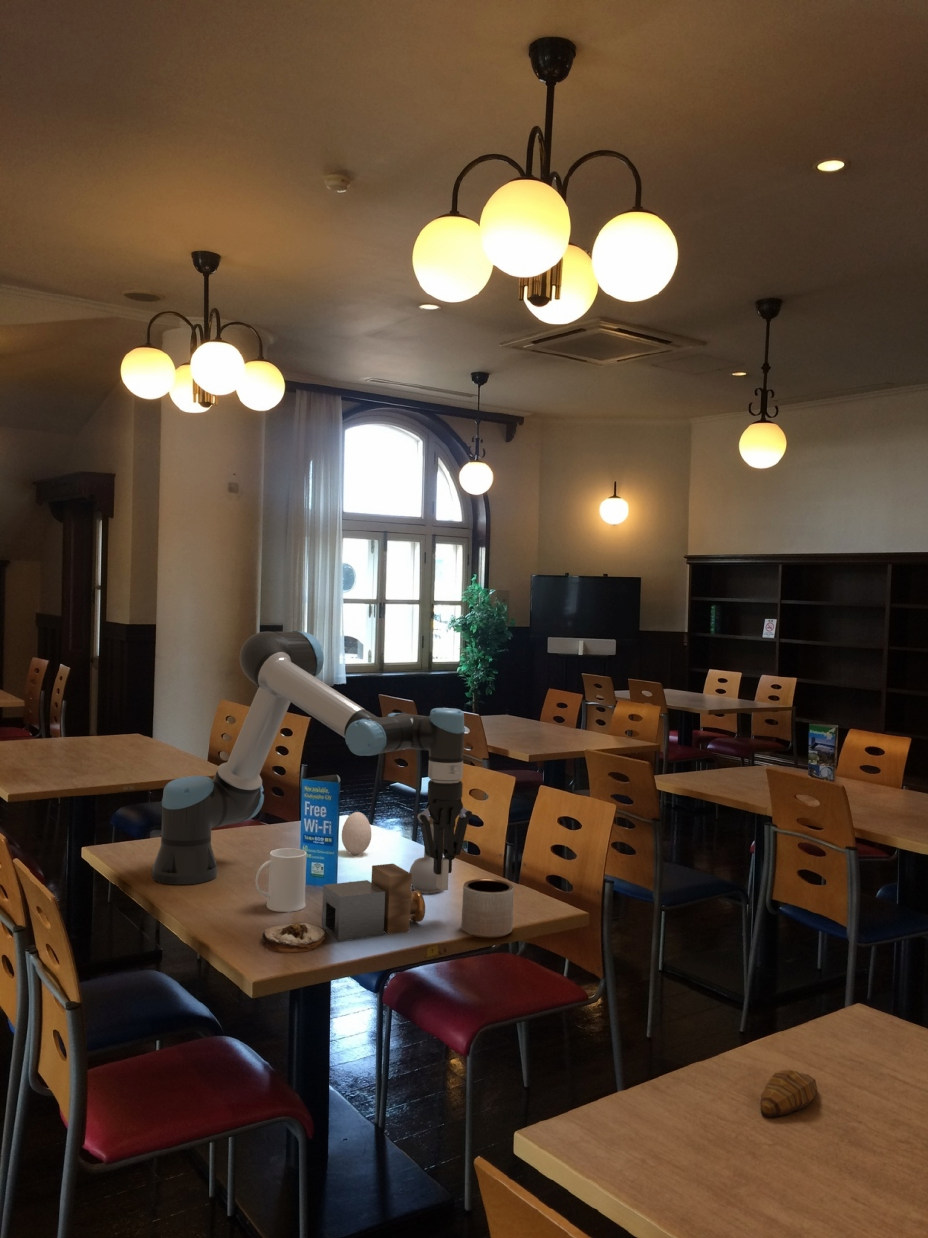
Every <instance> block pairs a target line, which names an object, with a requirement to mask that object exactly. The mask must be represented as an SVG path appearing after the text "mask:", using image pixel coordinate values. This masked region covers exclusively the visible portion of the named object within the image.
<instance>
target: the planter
mask: <svg viewBox="0 0 928 1238" xmlns="http://www.w3.org/2000/svg"><path fill="white" fill-rule="evenodd" d="M514 889H515V887H514V885H513V884H512V883H511V882H508V881H504V880H501V879H496V878H495V879H494V878H475V879H471V880H467V881H465V882H464V883H463V886H462V903H461V904H462V908H461V921H460V922H461V925H460V926H461V929H462V930H463V932H465V933H467V934H468V933H469V934H468V935H470V934H471V935H470V936H472V935H473V937H478V938H483V939H495V938H496V939H497V938H503V937H505V936H507V935H509V934H510V933H512V931H513V929H514V928H513V925H514V896H515V894H514V892H515V890H514Z"/></svg>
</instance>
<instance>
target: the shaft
mask: <svg viewBox="0 0 928 1238" xmlns="http://www.w3.org/2000/svg"><path fill="white" fill-rule="evenodd" d="M422 894H423V893H420V892H419V891H414V890H413V891H412V890H411V905H410V922H412V923H421V922H422V921H423V920H424V919H425V916H426V902H425V899H424V895H422Z"/></svg>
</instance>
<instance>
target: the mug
mask: <svg viewBox="0 0 928 1238" xmlns="http://www.w3.org/2000/svg"><path fill="white" fill-rule="evenodd" d="M307 854H308V852H307V851H305V850H303V849H301V848H300V849H299V848H290V847H287V848H285V847H283V848H277V849H274V850H271V851H270V852H269V860H267V861H265V862H264V863H263V864H261V865H260V866H259V868H258V870H257V872H256V874H255V879H254V880H255V881H254V882H255V887H256V890H257V891H258V892H259V894H260V895H262V896H264V897H265V898H267V902H266V908H267V909H268V910H270V911H273V912H277V913H278V912H279V913H292V912H298V911H301V910H304V909H305V908H306V905H307V904H306V878H307V877H306V874H307V870H306V869H307ZM266 867H268V889H267V890H268V891H264V890H262V889H261V888H260V885H259V877H260V874H261V872H262V871H263V870H264V869H265V868H266Z"/></svg>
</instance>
